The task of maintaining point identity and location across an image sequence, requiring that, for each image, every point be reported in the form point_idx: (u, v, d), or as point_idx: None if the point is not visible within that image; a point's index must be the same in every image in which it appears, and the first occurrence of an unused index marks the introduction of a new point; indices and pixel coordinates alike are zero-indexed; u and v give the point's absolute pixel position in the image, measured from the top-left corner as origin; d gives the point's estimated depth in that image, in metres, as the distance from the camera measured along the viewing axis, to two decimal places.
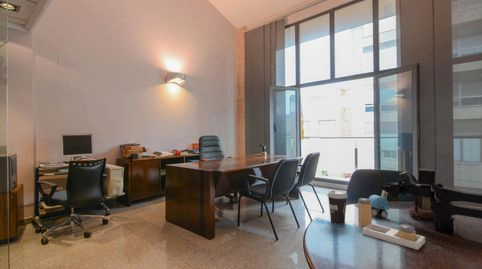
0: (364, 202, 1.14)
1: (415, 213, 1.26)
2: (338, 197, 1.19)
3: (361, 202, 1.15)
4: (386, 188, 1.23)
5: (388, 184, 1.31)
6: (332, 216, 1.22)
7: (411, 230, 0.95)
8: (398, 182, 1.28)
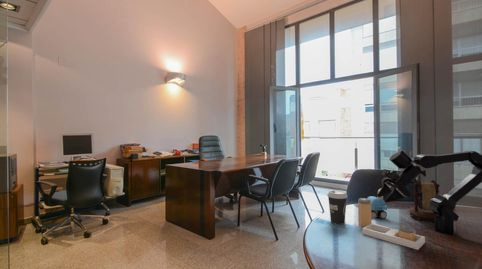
0: (364, 202, 1.14)
1: (415, 213, 1.26)
2: (338, 197, 1.19)
3: (361, 202, 1.15)
4: (392, 197, 1.09)
5: (379, 195, 1.19)
6: (332, 216, 1.22)
7: (411, 230, 0.95)
8: (383, 185, 1.20)
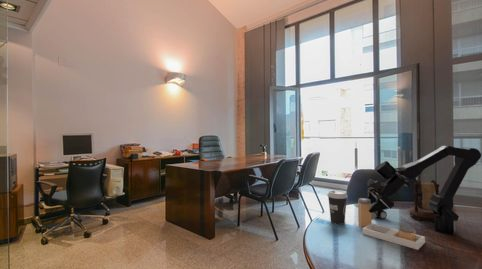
0: (364, 202, 1.14)
1: (415, 213, 1.26)
2: (338, 197, 1.19)
3: (361, 202, 1.15)
4: (376, 207, 1.10)
5: None
6: (332, 216, 1.22)
7: (411, 230, 0.95)
8: (369, 195, 1.21)
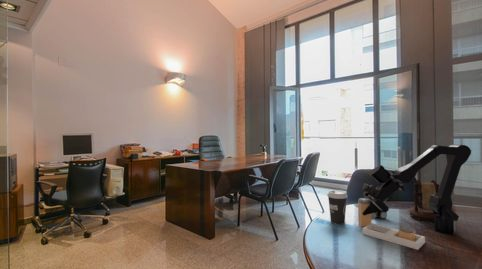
0: (364, 202, 1.14)
1: (415, 213, 1.26)
2: (338, 197, 1.19)
3: (361, 202, 1.15)
4: (369, 210, 1.13)
5: None
6: (332, 216, 1.22)
7: (411, 230, 0.95)
8: None
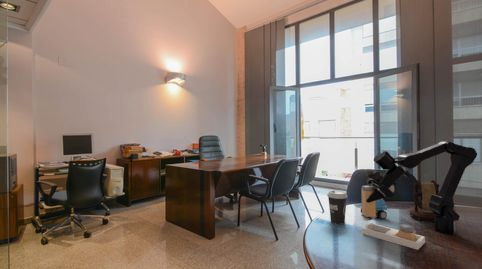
0: (368, 189, 1.11)
1: (415, 213, 1.26)
2: (338, 197, 1.19)
3: (365, 189, 1.12)
4: (373, 197, 1.09)
5: None
6: (332, 216, 1.22)
7: (411, 230, 0.95)
8: None
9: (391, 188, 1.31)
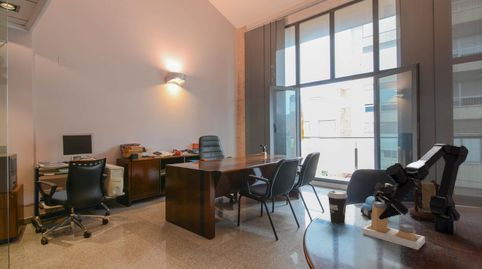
0: (381, 206, 1.03)
1: (415, 213, 1.26)
2: (338, 197, 1.19)
3: (377, 206, 1.03)
4: (387, 213, 1.00)
5: None
6: (332, 216, 1.22)
7: (411, 230, 0.95)
8: (376, 200, 1.10)
9: None
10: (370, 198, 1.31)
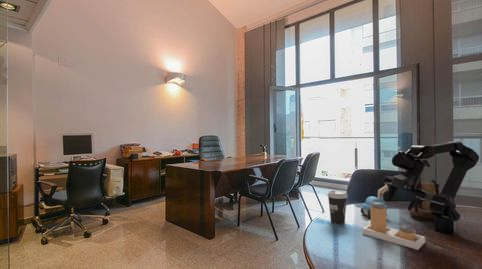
0: (379, 206, 1.03)
1: (415, 213, 1.26)
2: (338, 197, 1.19)
3: (375, 207, 1.04)
4: (414, 204, 1.03)
5: (390, 198, 1.13)
6: (332, 216, 1.22)
7: (411, 230, 0.95)
8: (391, 187, 1.12)
9: None
10: (370, 198, 1.31)
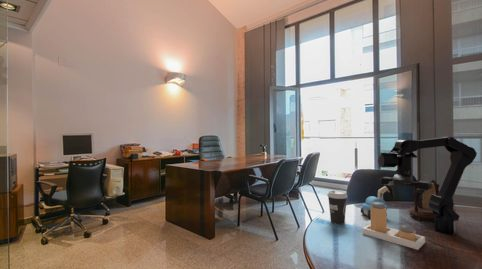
0: (379, 206, 1.03)
1: (415, 213, 1.26)
2: (338, 197, 1.19)
3: (375, 207, 1.04)
4: (420, 196, 1.07)
5: (393, 197, 1.15)
6: (332, 216, 1.22)
7: (411, 230, 0.95)
8: (391, 188, 1.14)
9: None
10: (370, 198, 1.31)
